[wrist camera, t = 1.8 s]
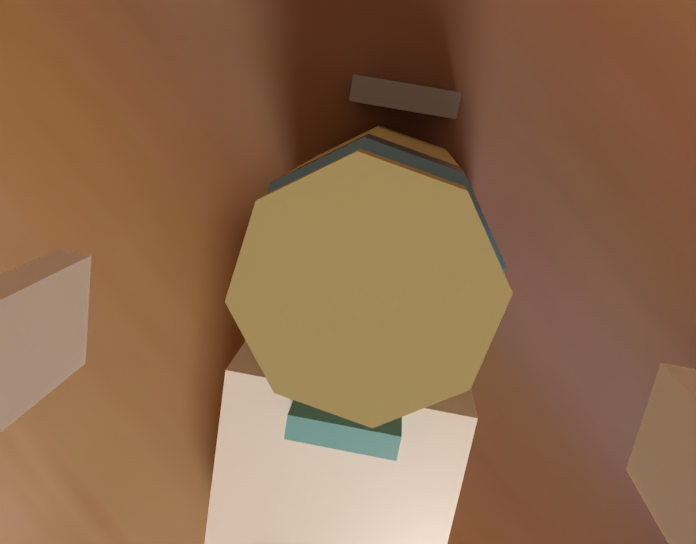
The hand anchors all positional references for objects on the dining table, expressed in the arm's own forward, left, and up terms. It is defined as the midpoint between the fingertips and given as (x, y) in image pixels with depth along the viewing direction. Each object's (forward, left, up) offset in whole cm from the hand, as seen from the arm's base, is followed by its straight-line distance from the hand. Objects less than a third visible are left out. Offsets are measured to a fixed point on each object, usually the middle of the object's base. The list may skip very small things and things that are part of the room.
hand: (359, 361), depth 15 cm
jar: (0, 0, -20) cm, 20 cm away
